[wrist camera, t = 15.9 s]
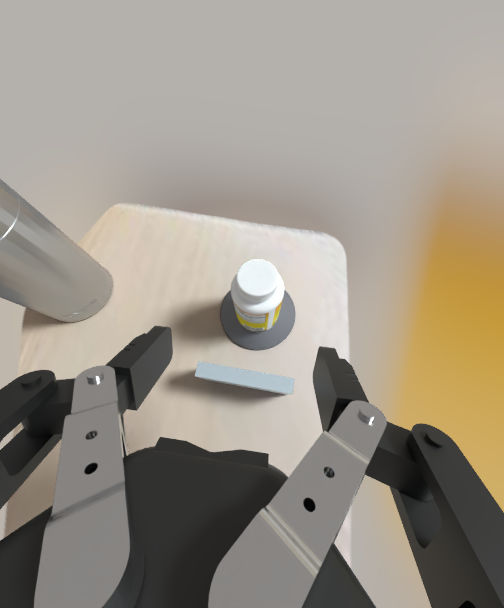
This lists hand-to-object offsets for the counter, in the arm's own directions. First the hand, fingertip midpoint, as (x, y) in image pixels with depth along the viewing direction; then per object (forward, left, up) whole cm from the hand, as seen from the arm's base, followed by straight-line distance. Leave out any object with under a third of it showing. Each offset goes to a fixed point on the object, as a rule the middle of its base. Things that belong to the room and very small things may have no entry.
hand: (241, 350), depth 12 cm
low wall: (0, -1, -17) cm, 17 cm away
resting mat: (-6, +6, -17) cm, 19 cm away
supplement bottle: (-6, +6, -17) cm, 19 cm away
